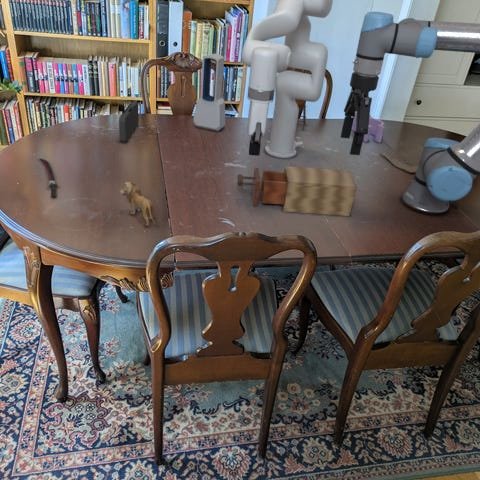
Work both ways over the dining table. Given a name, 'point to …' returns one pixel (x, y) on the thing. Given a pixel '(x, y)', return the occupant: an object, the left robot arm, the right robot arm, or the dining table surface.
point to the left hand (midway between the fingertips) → (253, 154)
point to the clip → (372, 129)
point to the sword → (52, 181)
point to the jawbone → (401, 164)
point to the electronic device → (207, 106)
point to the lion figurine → (137, 201)
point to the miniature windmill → (302, 105)
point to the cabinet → (319, 191)
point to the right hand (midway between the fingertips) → (349, 145)
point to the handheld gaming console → (128, 121)
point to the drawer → (267, 186)
